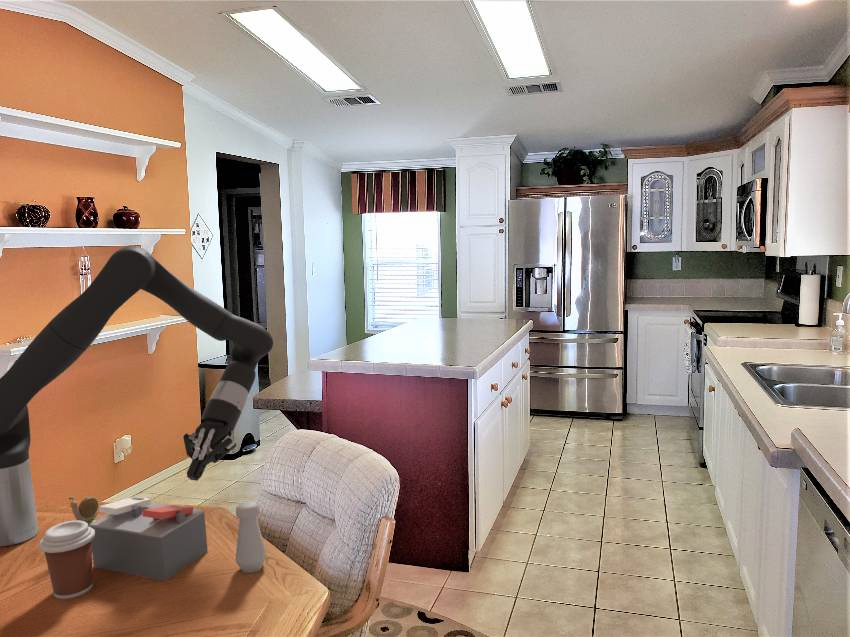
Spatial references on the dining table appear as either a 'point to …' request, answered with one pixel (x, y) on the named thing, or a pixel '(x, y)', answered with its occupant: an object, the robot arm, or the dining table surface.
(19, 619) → the dining table surface
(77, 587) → the coffee cup
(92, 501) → the snail figurine
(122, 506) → the white rocker
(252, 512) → the salt shaker
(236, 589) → the dining table surface
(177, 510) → the red rocker
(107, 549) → the switch box
